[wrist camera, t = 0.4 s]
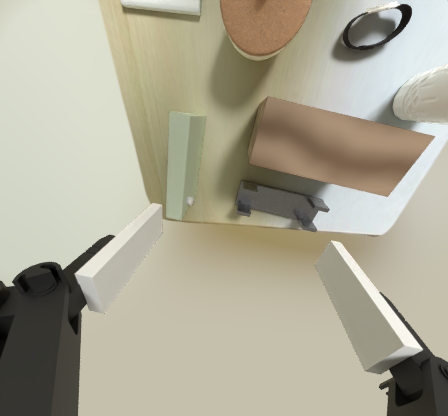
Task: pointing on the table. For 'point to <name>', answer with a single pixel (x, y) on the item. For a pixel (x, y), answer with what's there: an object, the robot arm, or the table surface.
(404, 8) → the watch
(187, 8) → the external hard drive
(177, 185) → the door panel
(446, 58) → the table surface
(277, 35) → the lidded jar
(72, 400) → the robot arm
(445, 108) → the white cup
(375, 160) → the cabinet
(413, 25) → the table surface
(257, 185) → the clip rail
